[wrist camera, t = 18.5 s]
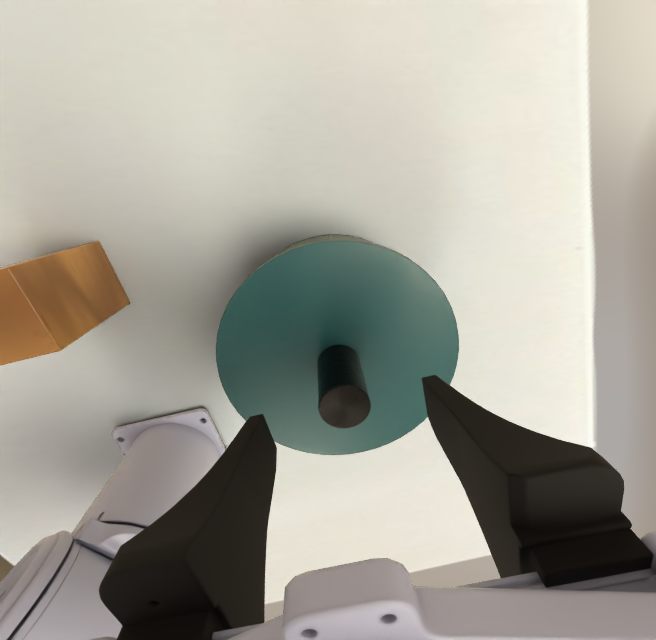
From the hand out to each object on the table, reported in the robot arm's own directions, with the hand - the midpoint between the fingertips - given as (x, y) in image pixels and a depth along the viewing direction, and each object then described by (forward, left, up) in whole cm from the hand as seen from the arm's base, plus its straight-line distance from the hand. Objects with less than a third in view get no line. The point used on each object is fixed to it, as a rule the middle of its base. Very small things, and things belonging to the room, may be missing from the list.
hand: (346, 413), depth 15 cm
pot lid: (0, 0, -5) cm, 5 cm away
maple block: (+7, +16, -10) cm, 20 cm away
